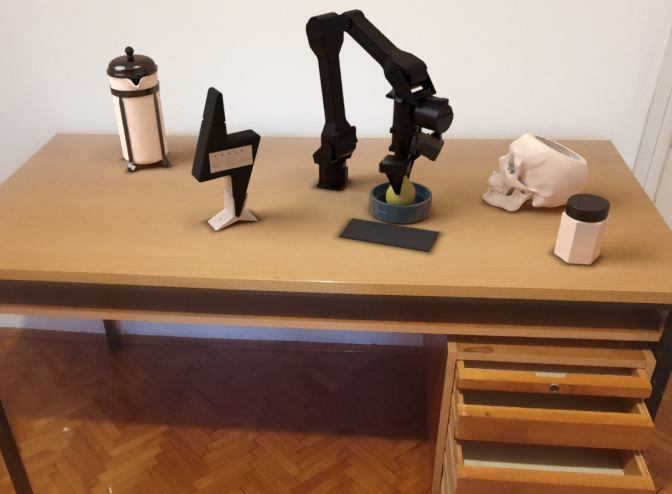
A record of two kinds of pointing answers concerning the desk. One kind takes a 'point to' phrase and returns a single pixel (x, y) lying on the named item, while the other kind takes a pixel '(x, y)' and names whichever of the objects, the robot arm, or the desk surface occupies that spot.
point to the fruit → (402, 194)
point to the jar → (582, 228)
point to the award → (225, 160)
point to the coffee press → (138, 109)
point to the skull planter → (536, 174)
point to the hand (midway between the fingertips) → (401, 188)
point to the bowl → (400, 212)
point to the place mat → (389, 234)
